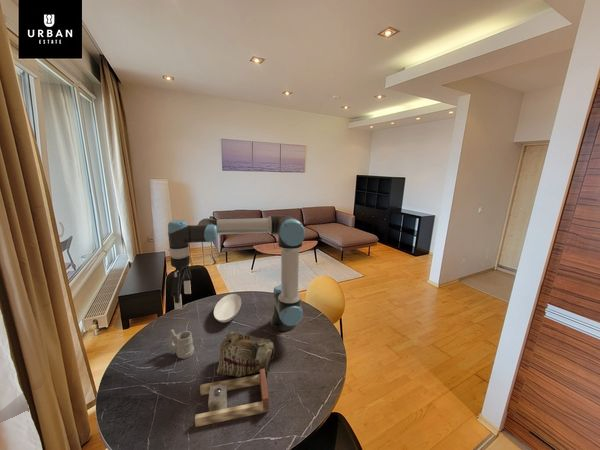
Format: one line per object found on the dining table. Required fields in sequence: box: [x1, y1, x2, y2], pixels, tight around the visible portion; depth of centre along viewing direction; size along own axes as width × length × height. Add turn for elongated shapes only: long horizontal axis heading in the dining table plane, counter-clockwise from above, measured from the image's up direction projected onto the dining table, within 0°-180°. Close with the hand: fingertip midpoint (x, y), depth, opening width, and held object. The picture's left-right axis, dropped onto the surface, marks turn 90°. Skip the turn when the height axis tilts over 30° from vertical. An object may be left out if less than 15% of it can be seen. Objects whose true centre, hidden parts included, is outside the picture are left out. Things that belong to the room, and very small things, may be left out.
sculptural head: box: [216, 331, 275, 378], centre depth 108 cm, size 17×21×25 cm
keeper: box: [207, 383, 228, 412], centre depth 91 cm, size 6×7×6 cm
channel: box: [194, 368, 270, 428], centre depth 93 cm, size 25×14×6 cm, turn 104°
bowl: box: [213, 293, 242, 323], centre depth 149 cm, size 30×15×6 cm, turn 3°
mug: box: [168, 329, 195, 360], centre depth 116 cm, size 8×12×12 cm, turn 83°
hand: (183, 300), depth 111 cm, fingers open, 13 cm apart
